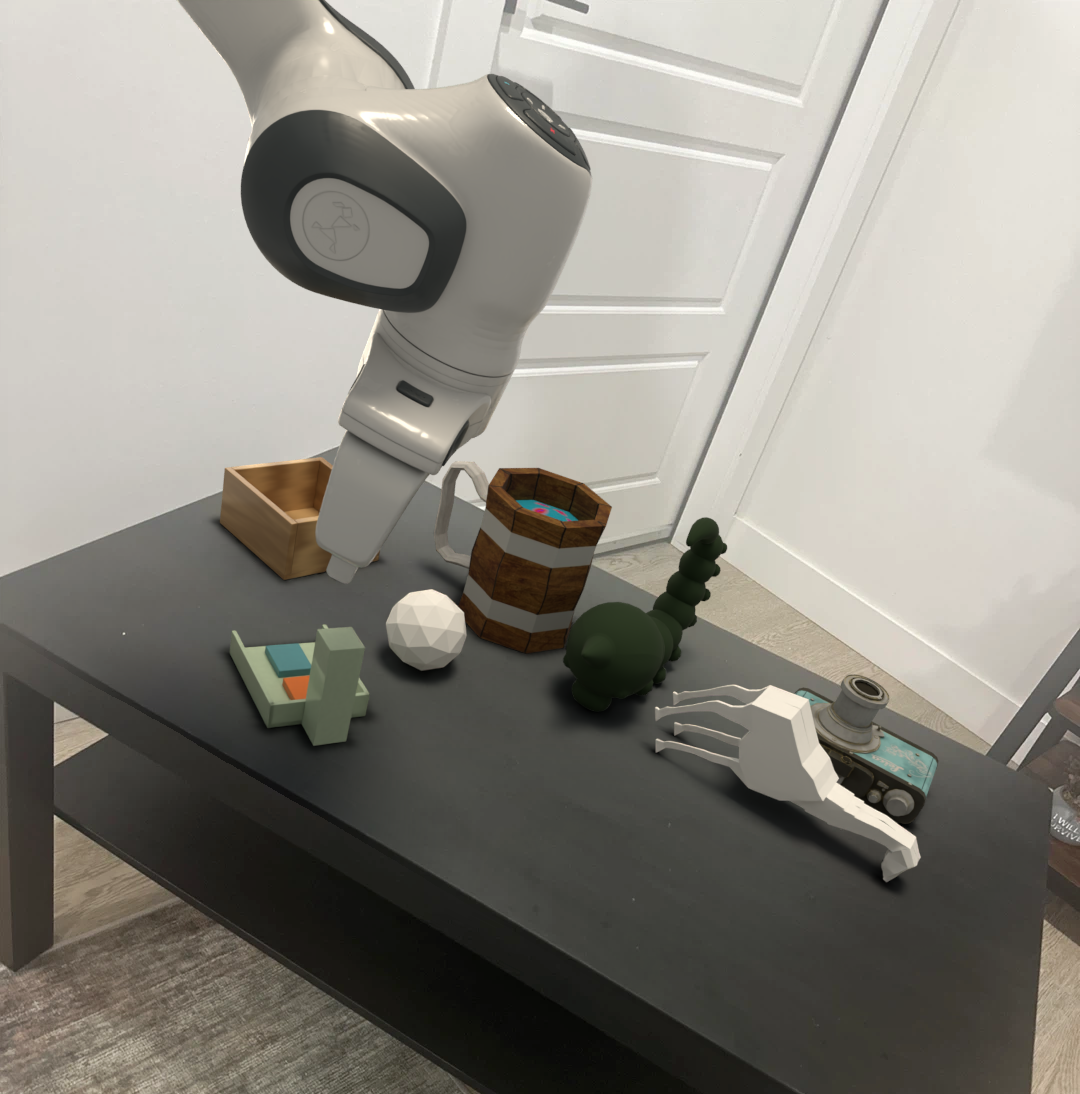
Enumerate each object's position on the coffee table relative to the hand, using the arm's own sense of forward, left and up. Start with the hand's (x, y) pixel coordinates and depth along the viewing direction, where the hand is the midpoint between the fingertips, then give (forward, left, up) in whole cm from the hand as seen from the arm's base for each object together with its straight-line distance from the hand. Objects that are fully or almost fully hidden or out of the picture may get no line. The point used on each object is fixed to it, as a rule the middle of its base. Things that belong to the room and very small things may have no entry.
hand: (361, 540), depth 70 cm
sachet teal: (+5, +12, -20) cm, 24 cm away
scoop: (+4, +8, -21) cm, 22 cm away
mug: (+32, +13, -21) cm, 40 cm away
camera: (+47, -26, -21) cm, 58 cm away
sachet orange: (+3, +7, -20) cm, 22 cm away
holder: (+19, +31, -21) cm, 42 cm away
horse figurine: (+34, -25, -21) cm, 47 cm away
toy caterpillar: (+35, -4, -21) cm, 41 cm away
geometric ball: (+17, +8, -21) cm, 28 cm away
